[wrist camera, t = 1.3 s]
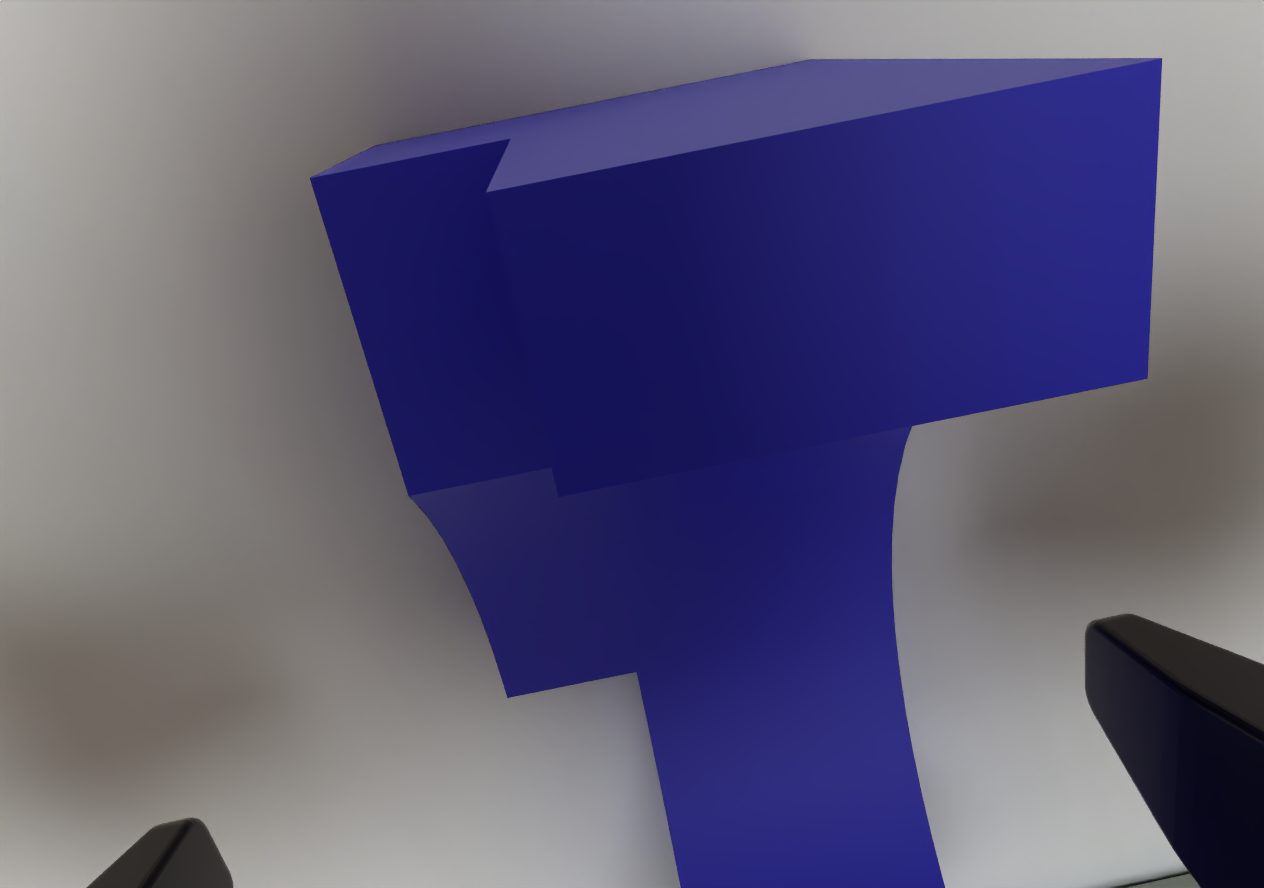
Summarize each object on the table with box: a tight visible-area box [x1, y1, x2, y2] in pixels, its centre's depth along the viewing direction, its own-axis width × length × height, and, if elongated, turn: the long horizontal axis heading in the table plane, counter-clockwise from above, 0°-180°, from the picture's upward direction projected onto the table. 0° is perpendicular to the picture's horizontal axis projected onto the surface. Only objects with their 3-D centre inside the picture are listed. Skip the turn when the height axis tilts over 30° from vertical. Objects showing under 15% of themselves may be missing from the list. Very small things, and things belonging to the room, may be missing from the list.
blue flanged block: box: [310, 58, 1162, 888], centre depth 9 cm, size 12×4×6 cm, turn 10°
